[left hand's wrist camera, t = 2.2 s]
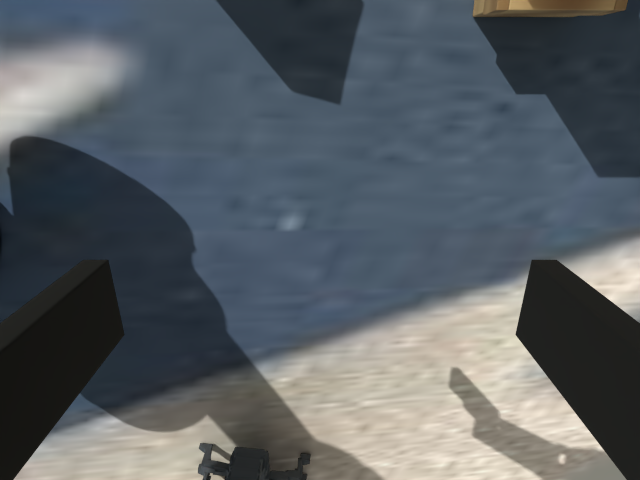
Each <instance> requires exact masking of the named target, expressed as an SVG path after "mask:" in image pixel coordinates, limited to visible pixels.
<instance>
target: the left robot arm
mask: <svg viewBox="0 0 640 480" xmlns="http://www.w3.org/2000/svg"><path fill="white" fill-rule="evenodd" d="M123 336H124V331H123V326H122V321H121V317H120V312H119V308H118V303H117V298H116V294H115V289H114V284H113V280H112V275H111V271H110V266H109V261H108V260H83V261H81V262H80V263H79V264H77V265H76V266H75V267H74V268H72V269H71V270H70V271H68V272H67V273H66V274H64V275H63V276H62V277H60V278H59V279H58V280H56V281H55V282H54V283H53V284H51V285H50V286H49V287H47V288H46V289H45V290H43V291H42V292H41V293H39V294H38V295H37V296H35V297H34V298H33V299H32V300H30V301H29V302H28V303H26V304H25V305H24V306H22V307H21V308H20V309H18V310H17V311H16V312H15V313H13V314H12V315H11V316H9V317H8V318H7V319H5V320H4V321H3V322H1V323H0V480H13V479H14V478H15V477H16V475H17V474H18V473H19V471H20V470H21V469H22V468H23V466H24V465H25V464H26V462H27V461H28V460H29V458H30V457H31V456H32V454H33V453H34V452H35V451H36V449H37V448H38V447H39V445H40V444H41V443H42V441H43V440H44V439H45V438H46V436H47V435H48V434H49V432H50V431H51V430H52V428H53V427H54V426H55V424H56V423H57V422H58V421H59V419H60V418H61V417H62V415H63V414H64V413H65V411H66V410H67V409H68V408H69V406H70V405H71V404H72V402H73V401H74V400H75V398H76V397H77V396H78V394H79V393H80V392H81V391H82V389H83V388H84V387H85V385H86V384H87V383H88V381H89V380H90V379H91V378H92V376H93V375H94V374H95V372H96V371H97V370H98V368H99V367H100V366H101V364H102V363H103V362H104V361H105V359H106V358H107V357H108V355H109V354H110V353H111V351H112V350H113V349H114V348H115V346H116V345H117V344H118V342H119V341H120V340H121V338H122V337H123ZM516 336H517V337H518V338H519V340H520V341H521V342H522V344H523V345H524V346H525V348H526V349H527V350H528V351H529V353H530V354H531V355H532V357H533V358H534V359H535V361H536V362H537V363H538V364H539V366H540V367H541V368H542V370H543V371H544V372H545V374H546V375H547V376H548V378H549V379H550V380H551V381H552V383H553V384H554V385H555V387H556V388H557V389H558V391H559V392H560V393H561V394H562V396H563V397H564V398H565V400H566V401H567V402H568V404H569V405H570V406H571V408H572V409H573V410H574V411H575V413H576V414H577V415H578V417H579V418H580V419H581V421H582V422H583V423H584V424H585V426H586V427H587V428H588V430H589V431H590V432H591V434H592V435H593V436H594V438H595V439H596V440H597V441H598V443H599V444H600V445H601V447H602V448H603V449H604V451H605V452H606V453H607V454H608V456H609V457H610V458H611V460H612V461H613V462H614V464H615V465H616V466H617V468H618V469H619V470H620V471H621V473H622V474H623V475H624V477H625V478H626V479H627V480H640V323H639V322H637V321H636V320H635V319H633V318H632V317H631V316H629V315H628V314H627V313H625V312H624V311H623V310H622V309H620V308H619V307H618V306H616V305H615V304H614V303H612V302H611V301H610V300H608V299H607V298H606V297H605V296H603V295H602V294H601V293H599V292H598V291H597V290H595V289H594V288H593V287H591V286H590V285H589V284H587V283H586V282H585V281H584V280H582V279H581V278H580V277H578V276H577V275H576V274H574V273H573V272H572V271H570V270H569V269H568V268H566V267H565V266H564V265H563V264H561V263H560V262H559V261H557V260H532V261H531V266H530V271H529V275H528V280H527V284H526V289H525V294H524V298H523V303H522V308H521V312H520V317H519V321H518V326H517V331H516Z"/></svg>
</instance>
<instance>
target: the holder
mask: <svg viewBox="0 0 640 480" xmlns="http://www.w3.org/2000/svg"><path fill="white" fill-rule="evenodd" d="M627 2H628V0H475V2H474V10H473V17H575V16H591V15H592V16H602V15H606V14H611V13H615V12H619V11H624V10H626V6H627Z"/></svg>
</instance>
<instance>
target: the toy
mask: <svg viewBox="0 0 640 480" xmlns="http://www.w3.org/2000/svg"><path fill="white" fill-rule="evenodd" d="M199 449H200V450H201V451H203V452H204V453H205V454H204V457H203V460H202V464H199V467H198V473H199V474H201V475H203V476H204V477H203V480H210V479H211V476H210V473H213V475H222V476H225V480H306V478H307V475H306V474H302V471H303V466H302V465H307V464H310V455H311V454H301V457H300V458H298V469H295V470H287V471H285V472H284V471H271V472H270V466H269V455H268V451H265V450H263V449H253V448H243V447H235V449H234V451H233V453H232V455H231V459H230V464H227V463H223V462H219V461H212V460H211V452H212V444H203V443H200V446H199Z"/></svg>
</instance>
